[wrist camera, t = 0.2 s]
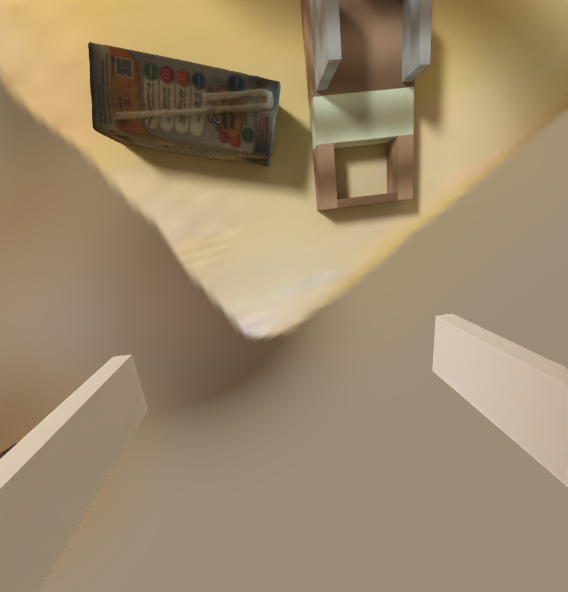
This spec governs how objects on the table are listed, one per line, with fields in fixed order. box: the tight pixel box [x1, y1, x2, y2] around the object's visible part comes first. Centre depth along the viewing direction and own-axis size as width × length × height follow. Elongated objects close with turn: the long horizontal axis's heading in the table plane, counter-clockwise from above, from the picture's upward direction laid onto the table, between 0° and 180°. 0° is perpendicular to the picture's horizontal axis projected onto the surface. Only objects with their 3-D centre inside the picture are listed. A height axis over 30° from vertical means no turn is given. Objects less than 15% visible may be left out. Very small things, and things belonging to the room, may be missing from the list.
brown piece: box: [301, 0, 432, 211], centre depth 29 cm, size 29×12×9 cm, turn 7°
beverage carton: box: [88, 42, 280, 166], centre depth 30 cm, size 8×19×7 cm, turn 83°
